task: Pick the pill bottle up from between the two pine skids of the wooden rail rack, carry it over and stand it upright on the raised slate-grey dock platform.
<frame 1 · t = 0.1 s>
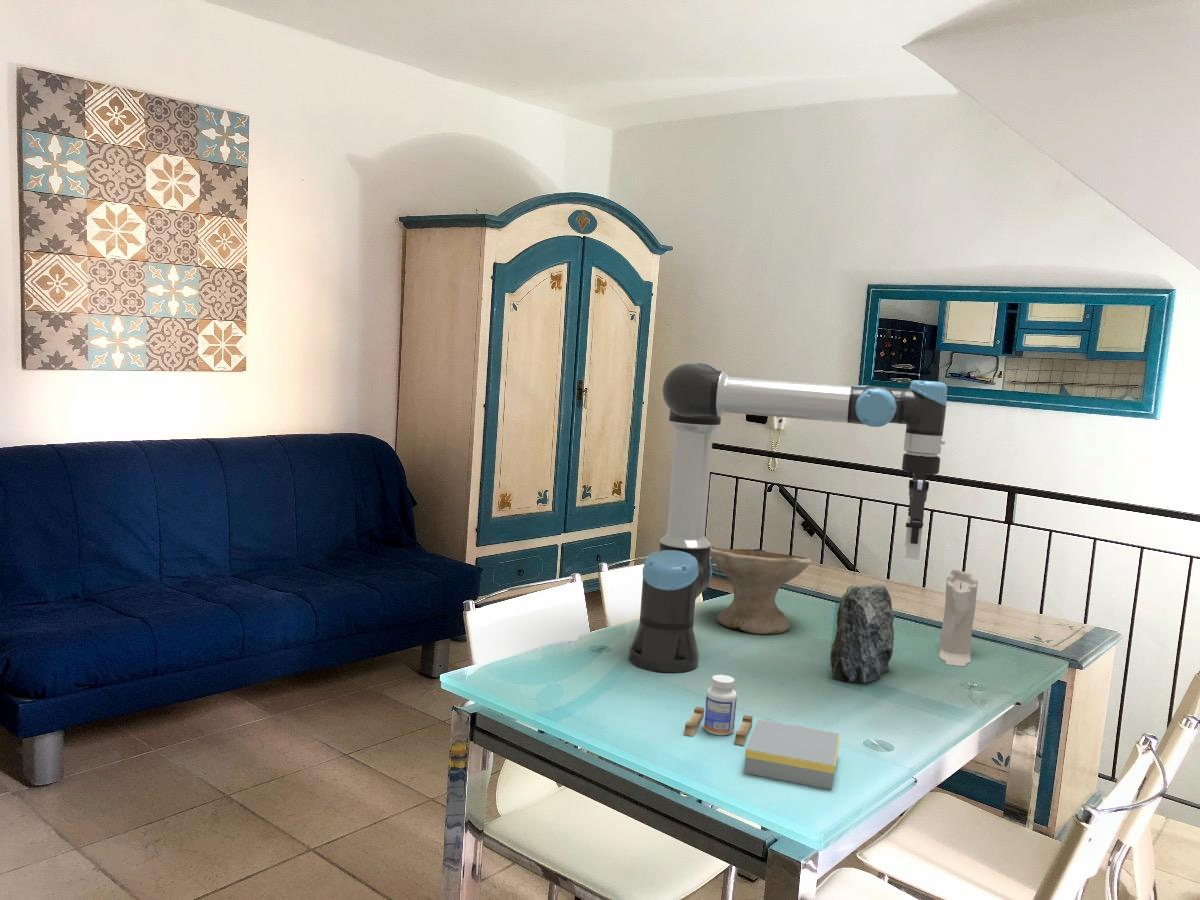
hand: (911, 552, 209), 28 cm above the table, fingers open, 13 cm apart
dock: (791, 764, 164), on the table
candle: (954, 658, 231), on the table
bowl: (753, 625, 247), on the table
pill bottle: (718, 731, 177), on the table
wooden rail rack: (718, 730, 177), on the table
stone block: (864, 675, 214), on the table
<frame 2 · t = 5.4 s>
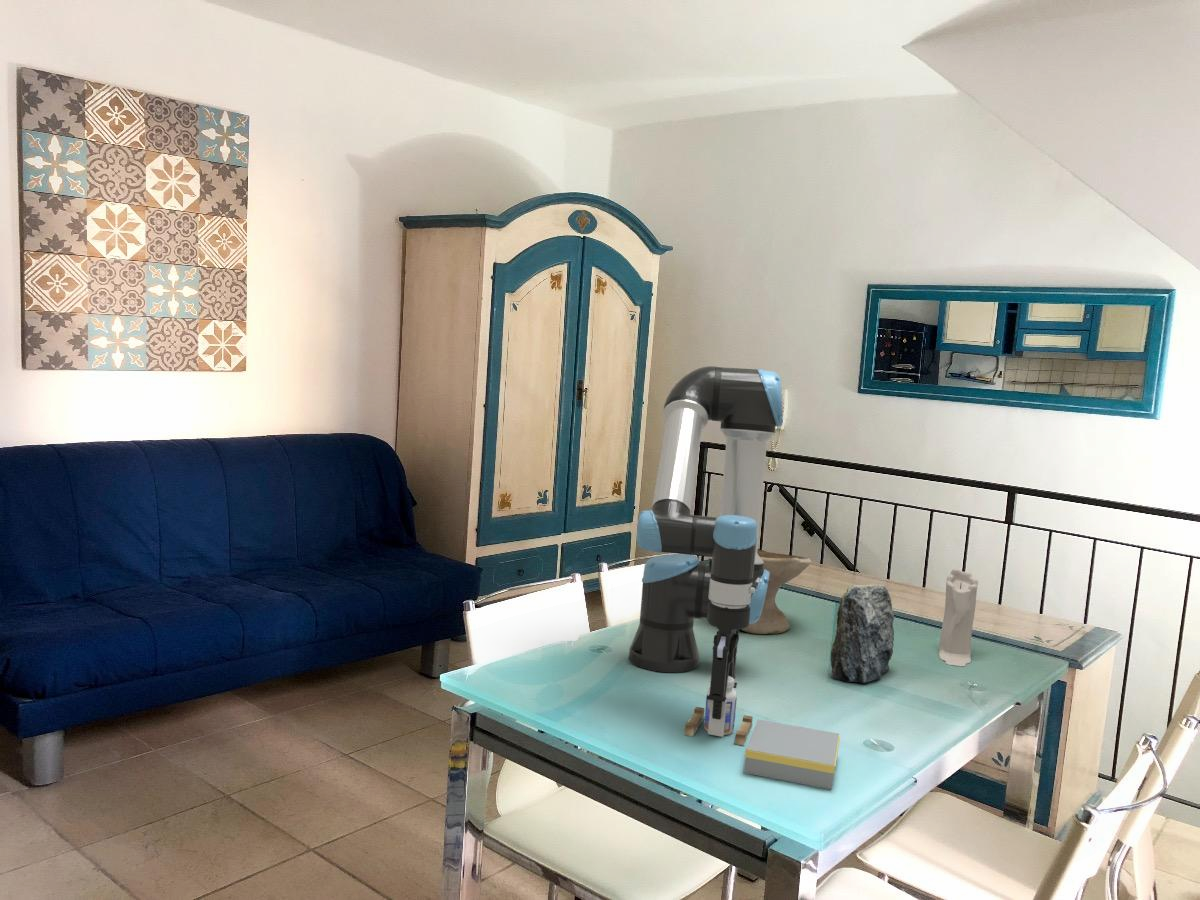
hand: (718, 728, 177), 0 cm above the table, fingers closed on pill bottle, 5 cm apart
pill bottle: (718, 731, 177), on the table, touching gripper
everything else where it was.
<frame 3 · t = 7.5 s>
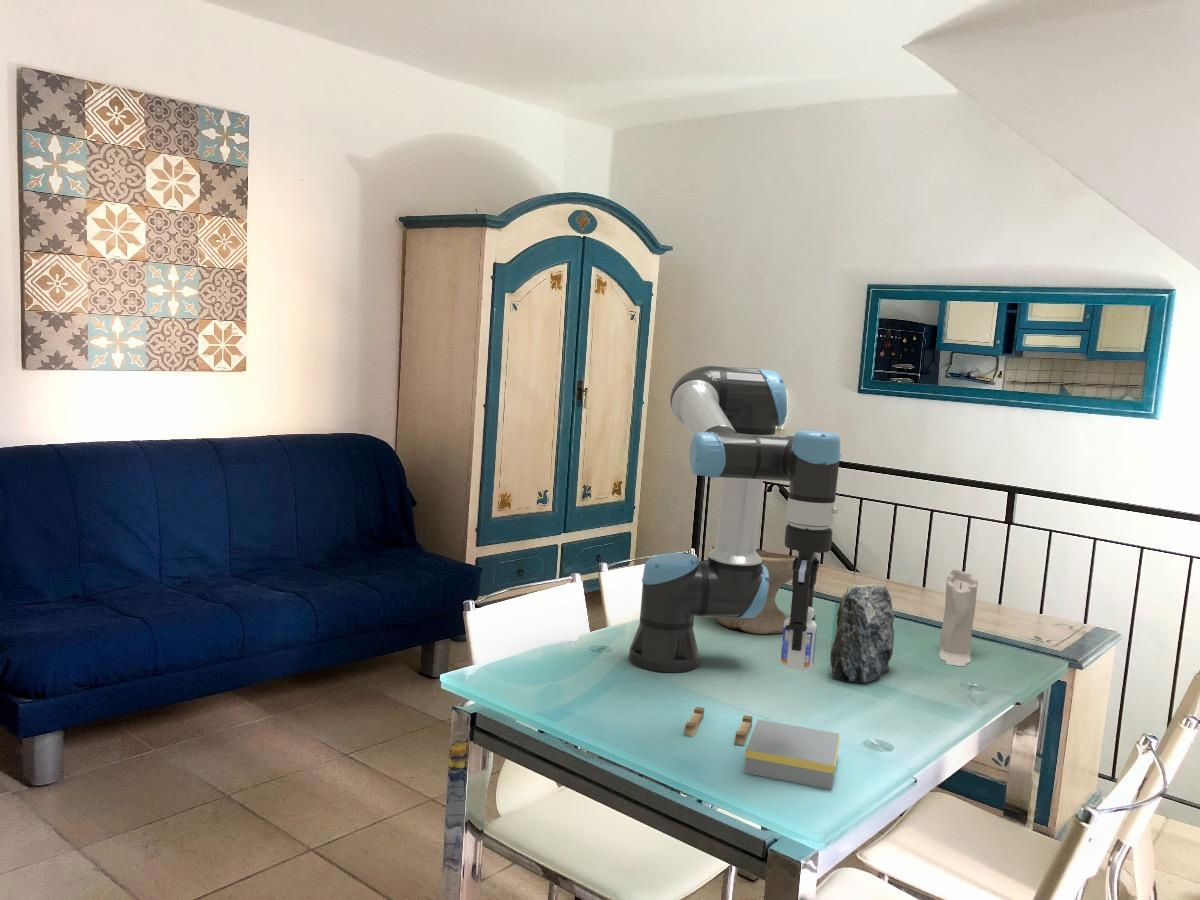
hand: (797, 662, 163), 17 cm above the table, fingers closed on pill bottle, 5 cm apart
pill bottle: (796, 665, 163), point 17 cm above the table, touching gripper
everything else where it was.
when the fingers open (6 cm above the table, at t = 9.9 s): pill bottle drops 1 cm, resting on dock.
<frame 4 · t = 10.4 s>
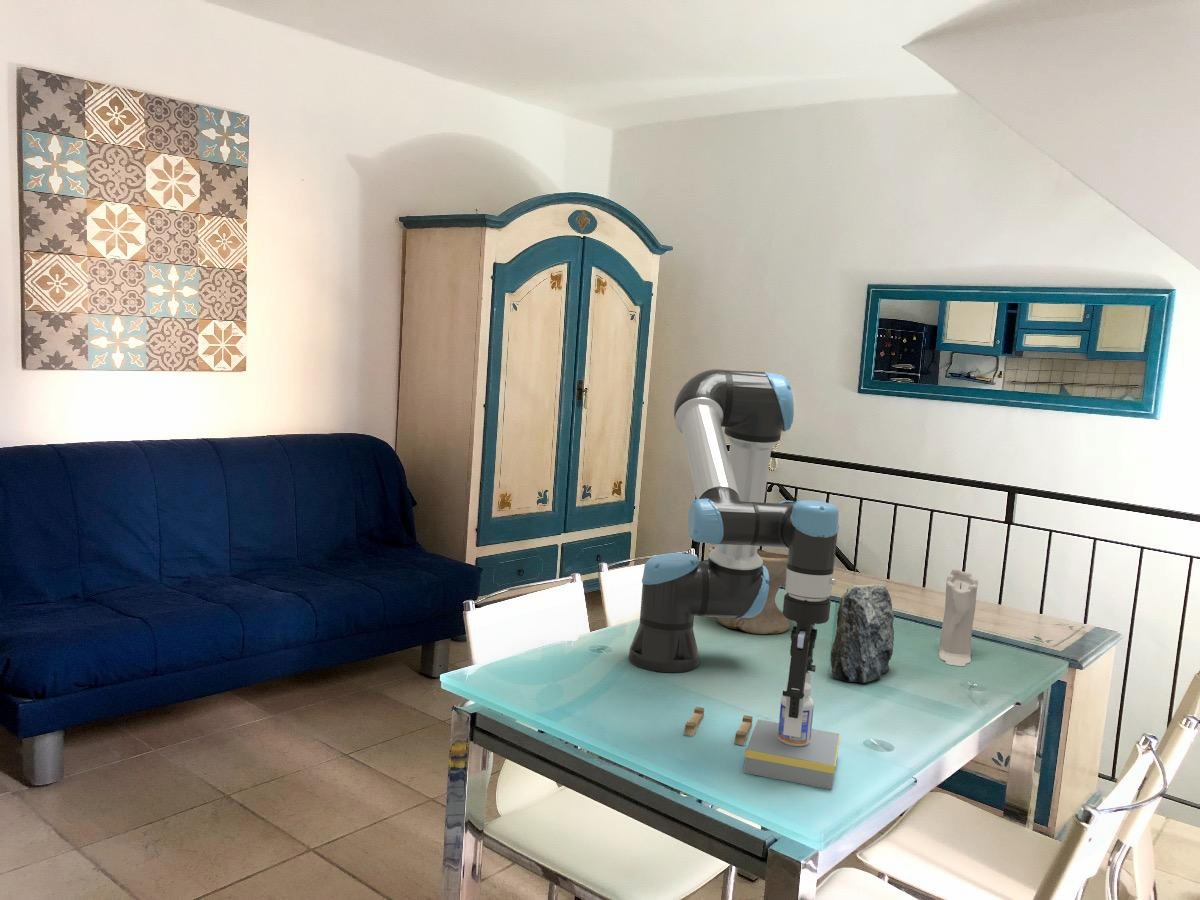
hand: (795, 721, 163), 7 cm above the table, fingers open, 12 cm apart
pill bottle: (793, 741, 164), point 4 cm above the table, touching dock
everything else where it was.
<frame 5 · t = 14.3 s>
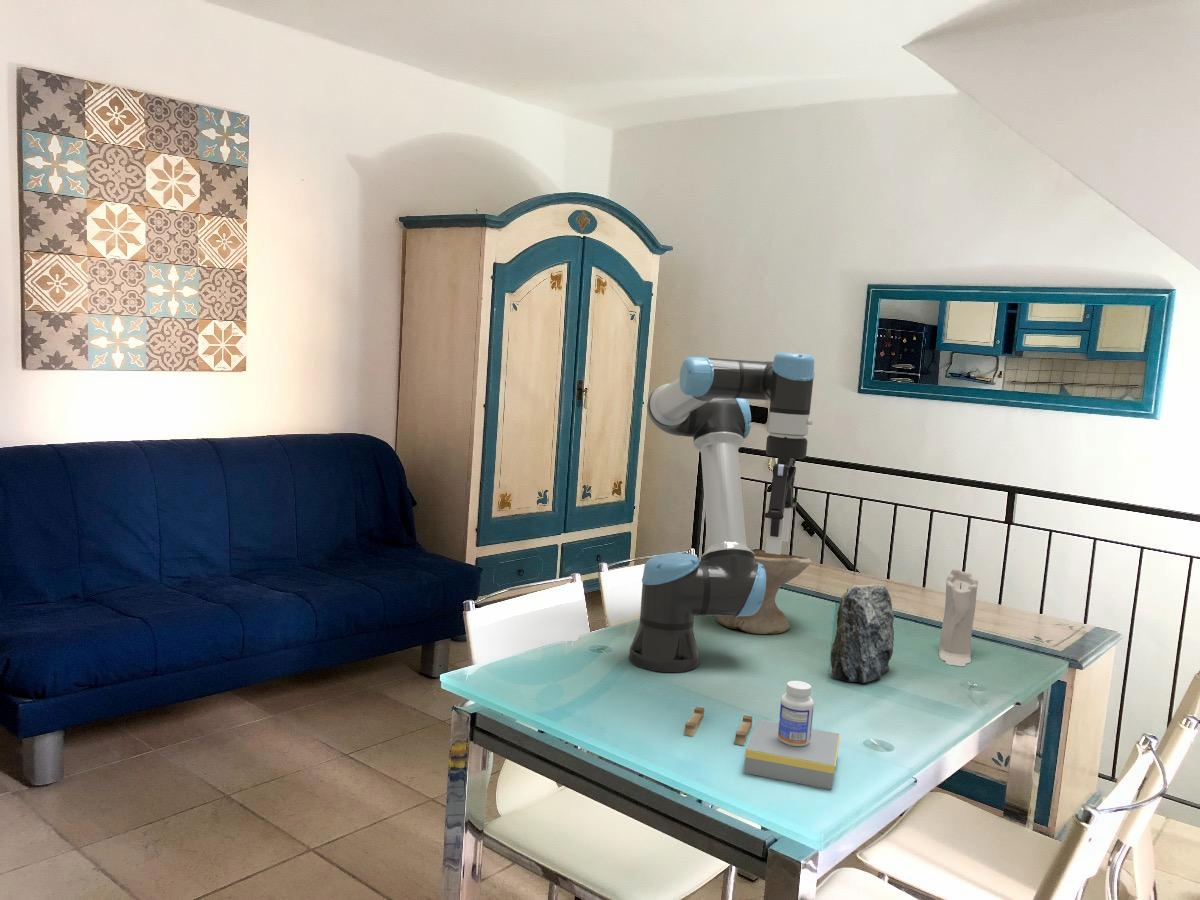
hand: (777, 547, 186), 32 cm above the table, fingers open, 13 cm apart
nothing on the table moved.
at the end: pill bottle inside the target area on the dock (0.2 cm from its centre), point 3.8 cm above the dock's base; pill bottle tilted 0°; the gripper is holding nothing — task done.
